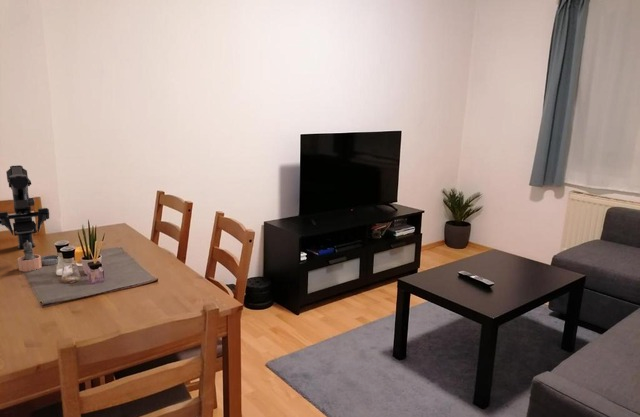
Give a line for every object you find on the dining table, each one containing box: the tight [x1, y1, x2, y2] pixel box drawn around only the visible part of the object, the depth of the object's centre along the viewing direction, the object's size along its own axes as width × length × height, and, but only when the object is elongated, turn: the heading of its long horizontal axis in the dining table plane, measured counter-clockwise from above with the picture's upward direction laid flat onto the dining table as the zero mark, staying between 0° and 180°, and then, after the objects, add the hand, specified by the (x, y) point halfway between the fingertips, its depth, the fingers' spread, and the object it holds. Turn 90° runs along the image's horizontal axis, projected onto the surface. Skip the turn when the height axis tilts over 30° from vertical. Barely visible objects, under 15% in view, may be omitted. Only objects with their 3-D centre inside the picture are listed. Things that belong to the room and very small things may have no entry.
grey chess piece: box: [22, 240, 36, 260], centre depth 186 cm, size 6×6×12 cm
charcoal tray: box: [41, 254, 58, 266], centre depth 195 cm, size 8×8×2 cm
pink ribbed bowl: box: [17, 254, 43, 272], centre depth 187 cm, size 8×8×4 cm
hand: (25, 233), depth 191 cm, fingers open, 9 cm apart
